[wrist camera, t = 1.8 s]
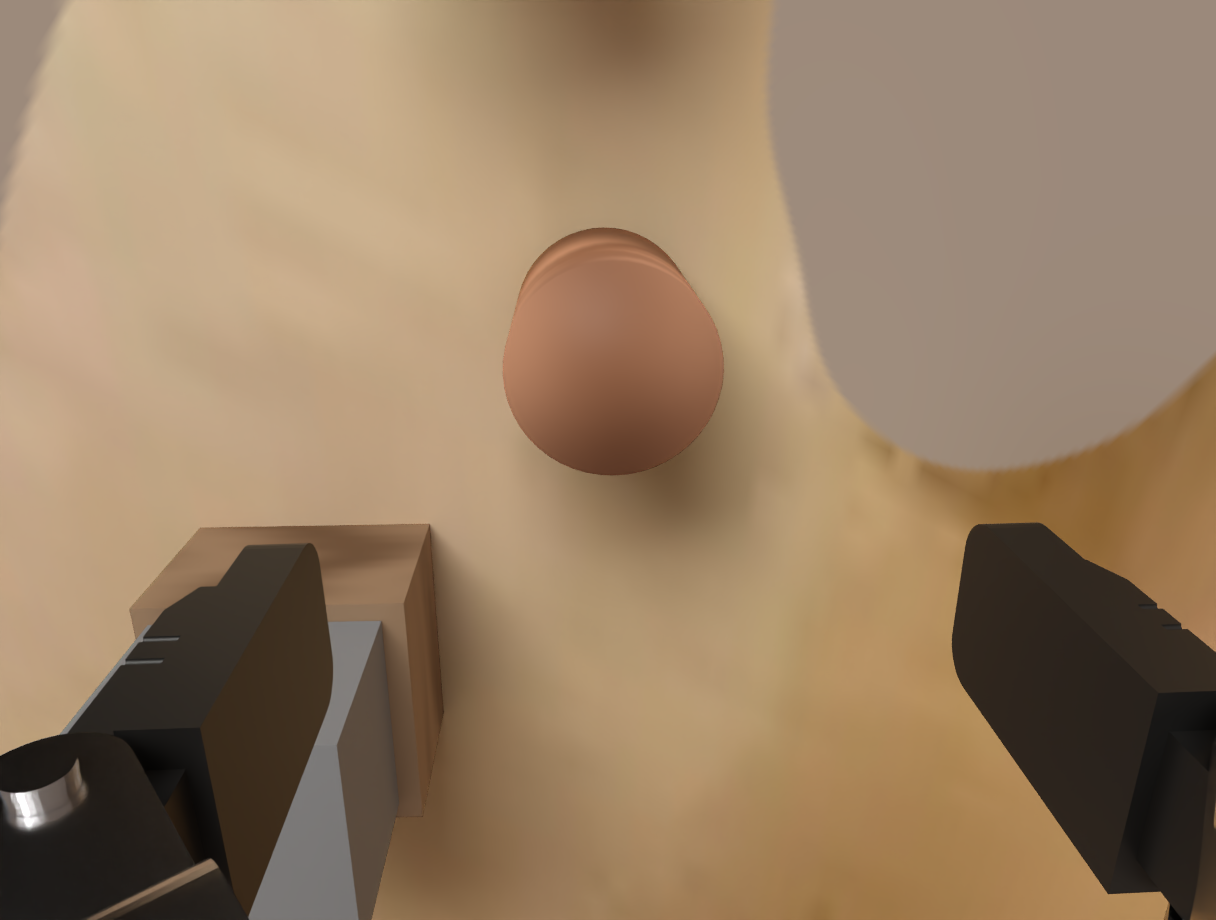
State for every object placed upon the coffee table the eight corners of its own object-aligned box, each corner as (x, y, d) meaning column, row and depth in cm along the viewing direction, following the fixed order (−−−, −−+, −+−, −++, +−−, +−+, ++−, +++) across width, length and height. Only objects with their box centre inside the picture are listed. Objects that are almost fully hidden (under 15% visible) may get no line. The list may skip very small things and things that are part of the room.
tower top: (381, 620, 24) (336, 745, 19) (399, 803, 26) (363, 954, 21) (147, 625, 24) (45, 752, 19) (185, 808, 26) (102, 963, 21)
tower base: (429, 522, 28) (403, 603, 24) (444, 709, 31) (422, 816, 26) (201, 526, 28) (129, 608, 23) (234, 715, 31) (175, 824, 26)
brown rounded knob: (692, 226, 25) (728, 259, 20) (688, 398, 27) (718, 473, 22) (513, 228, 25) (498, 262, 20) (519, 401, 27) (507, 477, 21)
